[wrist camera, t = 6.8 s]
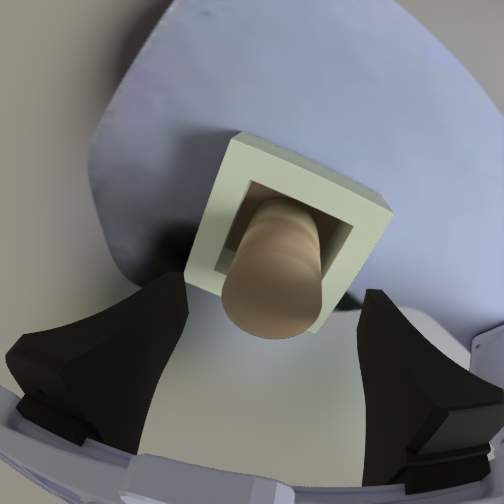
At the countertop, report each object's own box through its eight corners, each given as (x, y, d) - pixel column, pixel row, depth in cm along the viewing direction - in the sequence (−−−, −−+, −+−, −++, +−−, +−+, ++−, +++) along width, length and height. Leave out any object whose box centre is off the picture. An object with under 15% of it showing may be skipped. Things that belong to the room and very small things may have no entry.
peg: (267, 267, 20) (248, 347, 14) (237, 212, 18) (203, 277, 12) (328, 246, 19) (335, 324, 12) (301, 186, 17) (299, 242, 11)
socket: (381, 194, 17) (394, 213, 14) (315, 304, 21) (315, 334, 18) (242, 131, 16) (231, 138, 14) (197, 255, 21) (181, 279, 18)
